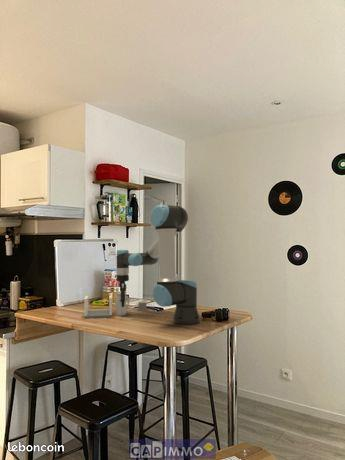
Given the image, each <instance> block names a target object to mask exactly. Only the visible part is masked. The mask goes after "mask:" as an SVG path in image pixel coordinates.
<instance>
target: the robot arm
mask: <svg viewBox="0 0 345 460" xmlns="http://www.w3.org/2000/svg"><path fill="white" fill-rule="evenodd" d="M149 218H150V223H151V225H152V226H154V230H155V231H156V233H157V238H156V239H155V240H154V242H153V243H152V244H151V245H150V247H149V248H148V249H147V251H146V252H131V253H130V252H129V249H118V250H116V269H115V271H116V282H120V283H119V292H120V294H121V300H120V302H121V312H125V295H126V290H127V289H126V288H127V283H125V282H129V280H130V279H129V278H130V275H129V274H130V269H129V268H130V266H132V267H139V266H148V265H149V266H152V265H157V264H158V263H159V264H158V266H159V267H158V268H159V278H158V279H157V280H156V285H155V286H154V287H153V289H152V297H153V300H154V301H155V302H156V303H155V304H156V305H158V306H159V307H162V308H163V307H164V308H165V307H170V306H175V309H174V314H173V317H172V322H173V323H175V324H178V325H196V324H199V323H201V317H200V313H199V310H198V308H197V307H198V306H197V305H198V303H197V302H198V297H197V296H198V294H197V292H198V291H197V290H198V287H197V282H196V281H194V280H185V279H178V278H177V277H176V252H175V250H176V249H175V248H176V246H175V237H176V236H177V234H179V233H181V232H183V230H184V229H185V228H186V226H187V225H188V221H189V215H188V212H187V210H186V209H185V208H184V207H183V206H181V205H180V206H179V205H170V204H158V205H156V206H155V207H154V208H153V209H152V210H151V214H150V217H149Z"/></svg>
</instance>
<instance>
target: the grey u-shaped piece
mask: <svg viewBox="0 0 345 460" xmlns="http://www.w3.org/2000/svg"><path fill="white" fill-rule="evenodd" d="M83 302H84V305H83V307H84V309H83V311H84V313H83V319H85V320H86V319H87V320H88V319H90V318H92V319H112V318H113V294H110V295H109V299H108V302H109V304H108V305H109V306H108V307H109V308H104V309H101V308H100V309H89V303H90V302H89V295H85V296H84V298H83ZM90 320H91V319H90Z"/></svg>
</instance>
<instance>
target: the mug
mask: <svg viewBox="0 0 345 460" xmlns="http://www.w3.org/2000/svg"><path fill="white" fill-rule="evenodd" d="M120 300H121V293H120V294H115V295H114V309H115V310H114V311H115V313H114V314H115V316H117V317H118V316H120V317H121V316H126V314H127V309H129V306H130V297H129V295H126V294H125V312H121V302H120Z"/></svg>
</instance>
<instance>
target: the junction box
mask: <svg viewBox="0 0 345 460" xmlns="http://www.w3.org/2000/svg"><path fill="white" fill-rule="evenodd" d="M137 303H138V304H137V308H138V311H141V312H143V311H147V301H146V300H145V301H142V300H141V301H138V302H137Z"/></svg>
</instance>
